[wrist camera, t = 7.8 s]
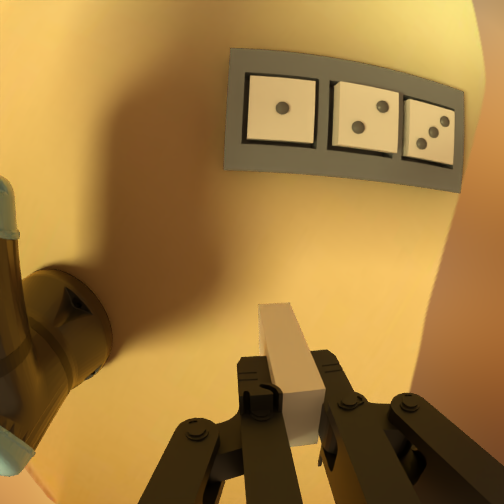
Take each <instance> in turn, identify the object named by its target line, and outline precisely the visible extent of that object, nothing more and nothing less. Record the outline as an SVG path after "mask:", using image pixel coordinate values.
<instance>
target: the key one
mask: <svg viewBox="0 0 504 504" xmlns="http://www.w3.org/2000/svg"><path fill="white" fill-rule="evenodd" d="M315 85H316V81H309V80H300V79H291V78H280V77H267V76H251V75H250V84H249V103H248V122H247V140H261V141H277V142H291V143H303V144H311V143H313V137H314V115H315Z"/></svg>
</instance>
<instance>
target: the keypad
mask: <svg viewBox="0 0 504 504" xmlns="http://www.w3.org/2000/svg"><path fill="white" fill-rule="evenodd" d="M250 75H251V76H267V77H280V78H291V79H300V80H309V81H316V85H315V115H314V137H313V143H311V144H303V143H291V142H277V141H261V140H247V122H248V103H249V84H250ZM340 81H342V82H348V83H354V84H359V85H365V86H370V87H375V88H380V89H384V90H389V91H393V92H397V93H399V119H398V147H397V153H385V152H378V151H371V150H364V149H357V148H349V147H341V146H332V135H333V110H334V86H335V85H336V84H337V83H339V82H340ZM408 99H412V100H416V101H420V102H423V103H427V104H431V105H434V106H438V107H441V108H445V109H448V110H451V111H454V112H455V128H454V156H453V165H450V164H441V163H436V162H431V161H426V160H420V159H415V158H409V157H404V156H401V153H402V130H403V101H405V100H408ZM463 153H464V92H463V91H460V90H457V89H455V88H452V87H449V86H446V85H443V84H440V83H437V82H434V81H430V80H427V79H424V78H421V77H417V76H414V75H410V74H406V73H403V72H399V71H395V70H391V69H387V68H383V67H378V66H374V65H369V64H365V63H360V62H355V61H349V60H344V59H338V58H332V57H326V56H319V55H312V54H304V53H295V52H286V51H275V50H262V49H243V48H230V60H229V75H228V91H227V109H226V128H225V148H224V170H235V171H258V172H277V173H292V174H306V175H318V176H330V177H341V178H351V179H360V180H369V181H378V182H386V183H394V184H402V185H409V186H416V187H423V188H430V189H436V190H442V191H449V192H454V193H461V183H462V170H463Z"/></svg>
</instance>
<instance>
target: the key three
mask: <svg viewBox="0 0 504 504" xmlns="http://www.w3.org/2000/svg"><path fill="white" fill-rule="evenodd" d="M454 128H455V112H454V111H451V110H448V109H445V108H441V107H438V106H434V105H431V104H427V103H423V102H420V101H416V100H412V99H408V100H405V101H403V130H402V153H401V156H404V157H409V158H415V159H420V160H426V161H431V162H436V163H441V164H450V165H453V156H454Z"/></svg>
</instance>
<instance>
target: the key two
mask: <svg viewBox="0 0 504 504" xmlns="http://www.w3.org/2000/svg"><path fill="white" fill-rule="evenodd" d="M398 119H399V93H397V92H393V91H389V90H384V89H380V88H375V87H370V86H365V85H359V84H354V83H348V82H342V81H340V82H339V83H337V84H336V85H335V86H334V110H333V135H332V146H341V147H349V148H357V149H364V150H371V151H378V152H385V153H397V147H398Z"/></svg>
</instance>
